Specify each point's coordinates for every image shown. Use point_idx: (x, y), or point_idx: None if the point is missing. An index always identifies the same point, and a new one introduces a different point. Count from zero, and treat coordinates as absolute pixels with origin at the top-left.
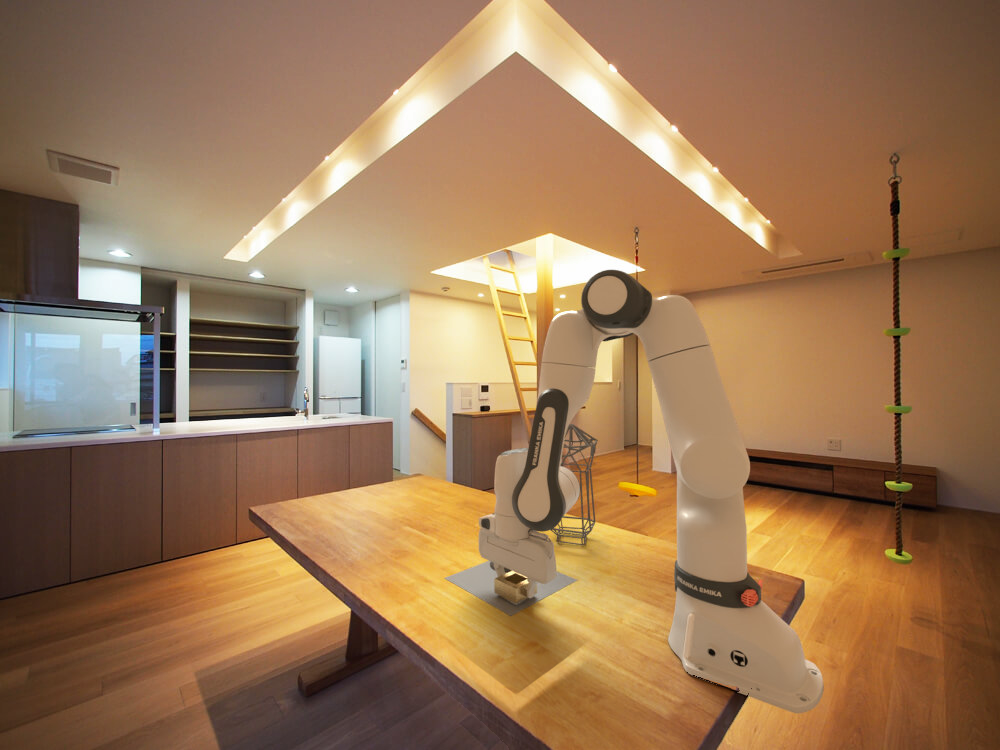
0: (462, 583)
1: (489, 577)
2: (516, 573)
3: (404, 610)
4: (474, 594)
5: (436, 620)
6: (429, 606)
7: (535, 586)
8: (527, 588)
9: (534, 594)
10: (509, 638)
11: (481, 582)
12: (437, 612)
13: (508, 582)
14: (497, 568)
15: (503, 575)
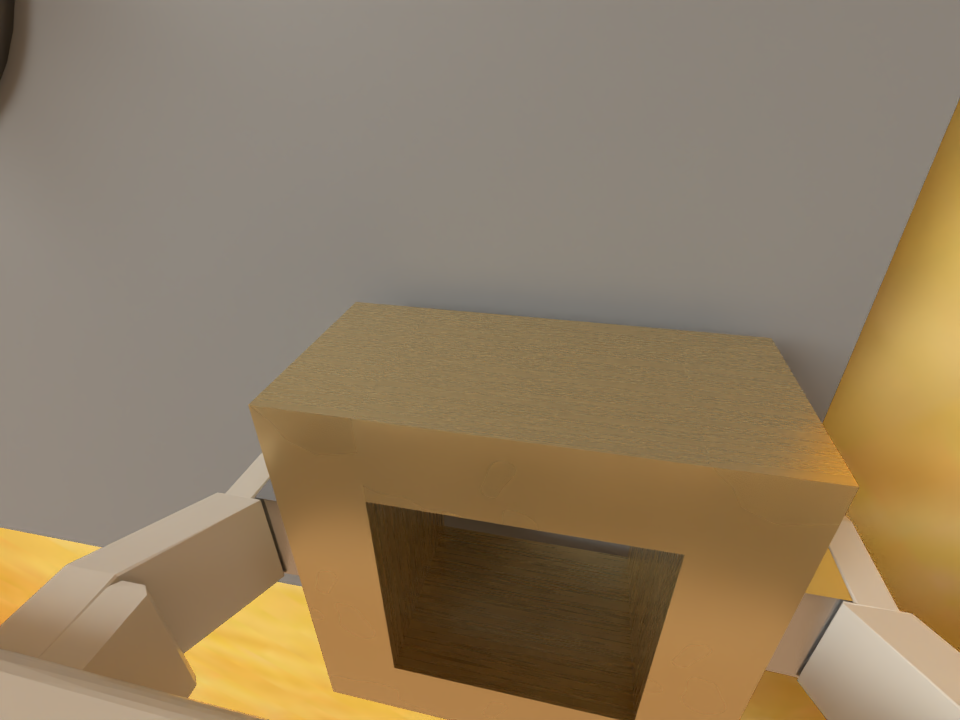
0: (108, 517)
1: (73, 323)
2: (389, 505)
3: (223, 700)
4: (296, 580)
5: (370, 706)
6: (241, 653)
7: (942, 647)
8: (825, 703)
9: (850, 523)
10: (793, 702)
11: (144, 435)
12: (311, 670)
13: (519, 711)
14: (180, 646)
15: (327, 614)
